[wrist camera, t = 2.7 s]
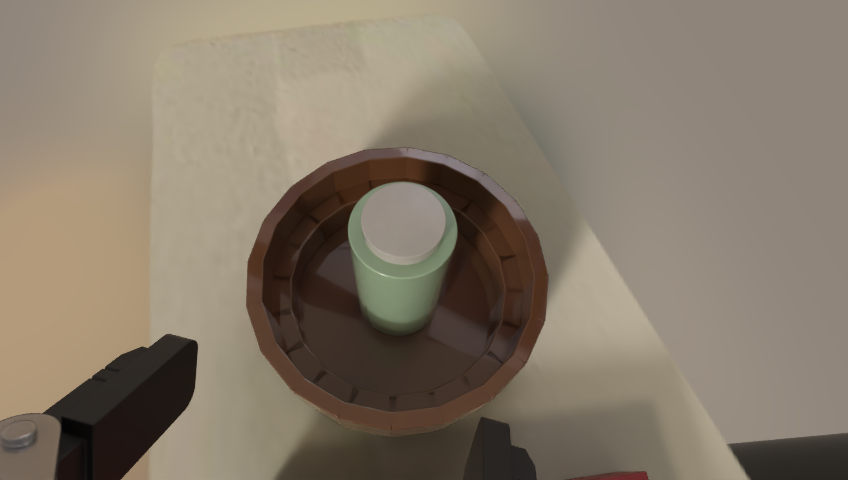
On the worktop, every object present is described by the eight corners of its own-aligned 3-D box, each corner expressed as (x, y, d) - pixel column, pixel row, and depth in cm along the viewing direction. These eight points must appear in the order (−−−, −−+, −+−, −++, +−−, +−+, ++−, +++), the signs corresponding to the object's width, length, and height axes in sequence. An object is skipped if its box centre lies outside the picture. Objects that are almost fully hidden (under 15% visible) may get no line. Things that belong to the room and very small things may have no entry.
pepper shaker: (432, 257, 31) (451, 167, 22) (443, 331, 28) (469, 265, 20) (356, 264, 30) (343, 174, 21) (361, 340, 28) (349, 276, 19)
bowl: (497, 184, 34) (514, 140, 29) (549, 417, 27) (581, 405, 23) (269, 200, 32) (251, 156, 28) (266, 454, 25) (240, 449, 21)
